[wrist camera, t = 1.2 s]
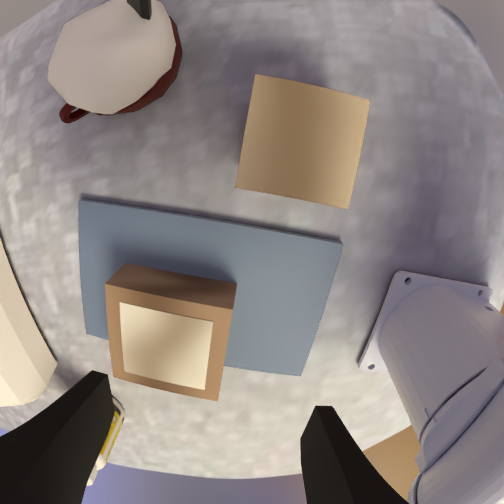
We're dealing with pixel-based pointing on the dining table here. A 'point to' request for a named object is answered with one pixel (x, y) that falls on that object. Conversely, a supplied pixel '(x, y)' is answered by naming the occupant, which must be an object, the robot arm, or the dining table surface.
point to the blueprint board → (217, 275)
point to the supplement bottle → (108, 440)
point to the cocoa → (115, 58)
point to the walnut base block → (169, 329)
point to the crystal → (20, 345)
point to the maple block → (302, 141)
